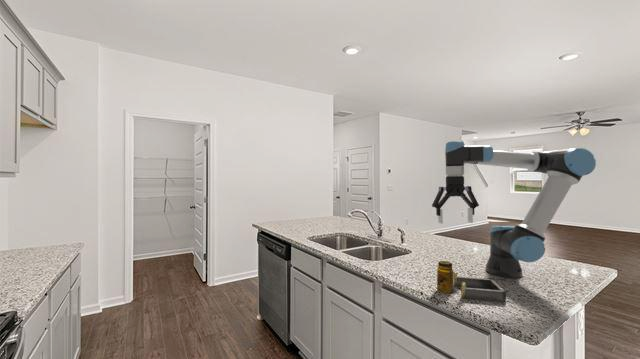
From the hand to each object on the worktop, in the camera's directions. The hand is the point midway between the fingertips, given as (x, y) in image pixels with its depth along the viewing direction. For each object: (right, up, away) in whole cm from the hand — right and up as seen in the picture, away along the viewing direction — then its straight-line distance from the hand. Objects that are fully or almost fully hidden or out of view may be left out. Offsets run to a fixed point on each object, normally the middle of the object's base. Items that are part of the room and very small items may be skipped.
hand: (455, 222), depth 129 cm
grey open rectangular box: (+3, -27, -14) cm, 30 cm away
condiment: (-9, -27, -11) cm, 30 cm away
